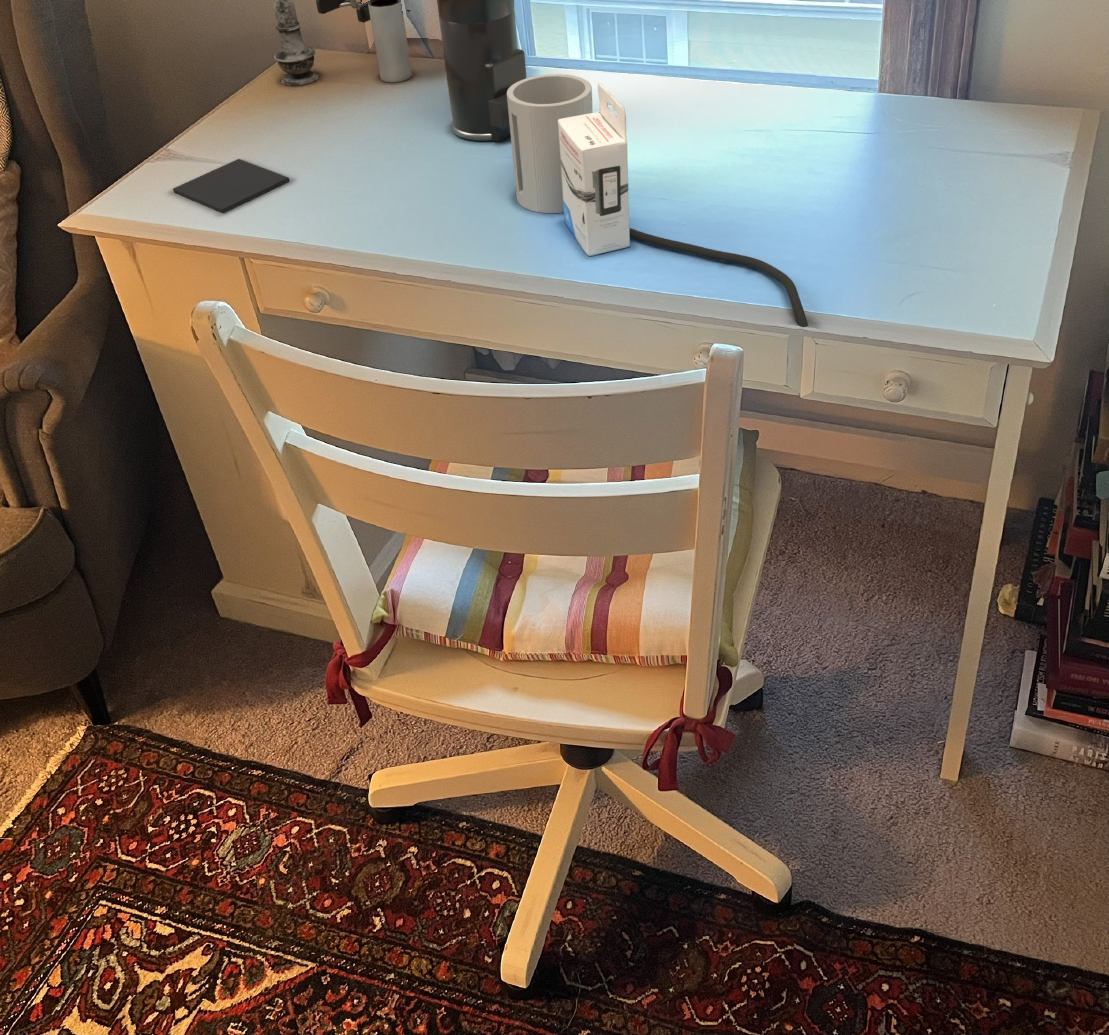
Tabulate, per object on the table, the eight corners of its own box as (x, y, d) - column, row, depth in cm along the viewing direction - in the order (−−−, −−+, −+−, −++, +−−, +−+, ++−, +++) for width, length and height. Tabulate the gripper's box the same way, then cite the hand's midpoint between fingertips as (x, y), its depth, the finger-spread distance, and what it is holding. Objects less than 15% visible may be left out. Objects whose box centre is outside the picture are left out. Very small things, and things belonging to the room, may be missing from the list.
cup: (610, 185, 126) (606, 81, 118) (569, 219, 120) (562, 111, 112) (544, 171, 130) (536, 69, 122) (501, 203, 124) (490, 98, 116)
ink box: (562, 223, 120) (553, 89, 110) (604, 213, 121) (599, 80, 111) (587, 258, 114) (580, 119, 104) (632, 248, 114) (629, 109, 105)
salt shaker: (326, 71, 160) (308, -16, 152) (311, 87, 155) (292, -2, 147) (289, 71, 161) (270, -16, 153) (273, 86, 157) (252, -2, 149)
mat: (289, 181, 132) (288, 177, 132) (223, 213, 127) (221, 209, 127) (239, 162, 138) (238, 158, 137) (173, 192, 132) (172, 188, 132)
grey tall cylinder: (404, 83, 154) (392, 7, 147) (375, 81, 155) (362, 5, 148) (417, 72, 157) (406, -4, 150) (388, 70, 158) (376, -5, 151)
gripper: (377, -53, 168) (299, -23, 159) (445, -42, 161) (368, -10, 152) (385, -1, 173) (310, 30, 164) (451, 12, 166) (377, 45, 157)
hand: (338, 10), depth 158 cm, fingers open, 8 cm apart
